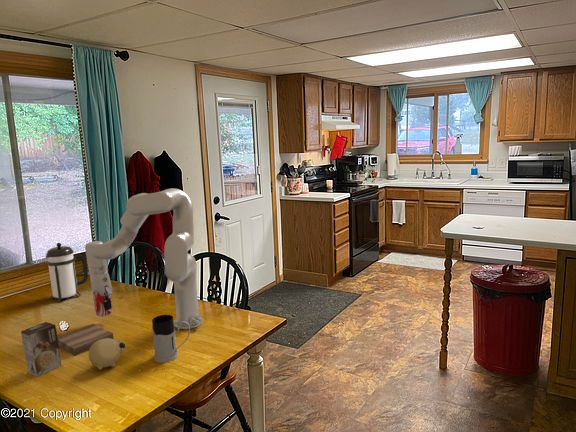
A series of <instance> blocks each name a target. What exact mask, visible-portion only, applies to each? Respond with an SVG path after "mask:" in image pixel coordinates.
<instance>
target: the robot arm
mask: <svg viewBox="0 0 576 432" xmlns="http://www.w3.org/2000/svg"><path fill="white" fill-rule="evenodd" d="M125 208H126V211H125V212H124V213H123V215H122V217H121V218H120V224H121V228H120V230H118V232H117V233H116V235H115V236H114V238H111V239H110V240H108V241H105V242H103V241H102V240H101V241H100V240H94V241H89V242H87V243H86V244H85V245H84V248H85V255H86V256H85V257H86V264H87V270H88V276H89V279H90V286H91V287H90V289H91V291H92V292H91V293H92V294H93V293H94V291H98V293H99V294H100V296H102V297H103V300H104V302H103V303H104V310H105V311H106V310H109V309H112V308H113V304H112V305H111V301H112V296H113V287H112V282H111V278H110V274H109V269H108V264H107V263H108V262H107V260H113V259H115V258H117V257H119V256H120V255H122V254H123V253H125V252H126V251H127V250H128V248H129V247H130V246H131V244H132V243H133V242H134V240H135V238H136V237H137V234H138V233H139V229H140V228H141V227H142V225H143V224H144V223H145V221H146V219H147V218H148V217H149V216H150V215H157V214H163V213H168V212H170V211H173V215H172V233H171V234H170V235H169V236H168V237H167V238H166V240H165V242H164V249H163V251H164V254H163V255H164V256H163V257H164V273H165V276H166V277H167V279H168V280H169V281H170V282H171V283H173V286H174V287H173V289H174V299H175V313H176V319H175V320H173V321H174V328H176V329H178V324H179V323H180V322H182V321H185V322H187V323H188V324H189V325H190V330H191V329H194V328H197V327H199V326H201V325H202V324H203V322H204V319H203V317H202V316H201V314H200V312H199V311H200V310H199V297H198V286H197V285H198V284H197V261H196V258H195V256H194V255H192V254H190V253H188V252H189V251H190V250H191V249H192V248H193V246H194V242H195V238H194V236H195V235H194V230H195V229H194V209H193V202H192V200H191V198H190V196H188V194H187V193H186V192H184V191H183V190H181V189H179V188H174V187H173V188H166V189H164V190H161V191H157V192H152V193H147V192H141V193H137V194H135V195H132V196H131V197H129V198H128V200H127V202H126V206H125ZM104 293H107V294H105V295H104ZM105 296H107V297H106V298H105ZM179 330H189V327H188V325H187V324H186V323H181V324H180V325H179Z"/></svg>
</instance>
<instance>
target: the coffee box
mask: <svg viewBox="0 0 576 432" xmlns="http://www.w3.org/2000/svg"><path fill="white" fill-rule="evenodd" d="M20 333H21V339H22V344H23V345H22V346H23V351H24V356H25V362H26V367H27V373H28V374H30V375H32V376H34V377H36V378H37V377H41V376H42V375H45V374H47V373H49V372H50V371H52V370H55V369H57V368H59V367H61V366H63V365H62V358H61V353H60V352H61V351H60V347H59V344H58V338H57V337H58V333H57V327H56V324H54V323H51V322H48V321H45V322H43V323H39V324H36V325H34V326H32V327H28V328H25V329H24V330H21V332H20Z"/></svg>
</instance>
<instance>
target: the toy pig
mask: <svg viewBox="0 0 576 432" xmlns="http://www.w3.org/2000/svg"><path fill="white" fill-rule="evenodd" d="M125 349H126V344H125V343H124V341H122V340H121V339H117V338H114V339H111V338H105V339H101V340H98V341H96V342H95V343H94V344H93V345H92V346H91V347H90V350H88V359H89V361H90V363H91V365H92V366H95V367H96V368H97V369H98V370H102V369H103V368H108V367H111V368H115V366H116V362H118V360H119V358H120V356H121V355H122V354H123V353H124V351H125Z"/></svg>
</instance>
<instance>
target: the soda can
mask: <svg viewBox="0 0 576 432" xmlns="http://www.w3.org/2000/svg"><path fill="white" fill-rule="evenodd" d="M92 294H93V295H92V296H93V304H94V311H95V315H96V316H97V317H100V318H104V317H107V316H110V315H111V314H112V313H113V307H112V309H109V310H106V311H105V310H104V303H103V302H104V300H103V297H102V296H100V294H99V293H98V291H94V293H93V292H92ZM105 294H107V293H104V295H105ZM106 297H107V296H105V298H106ZM111 305H112V306H113V301H112V300H111Z"/></svg>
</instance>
